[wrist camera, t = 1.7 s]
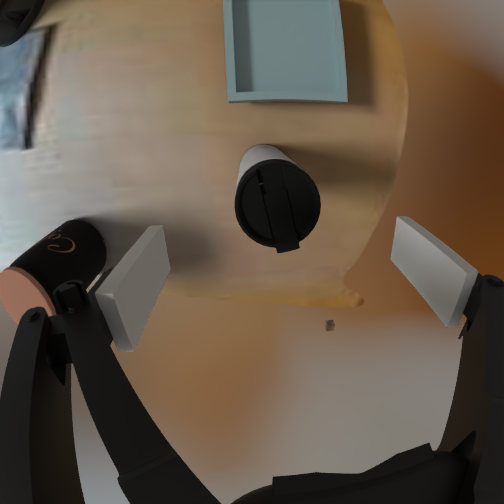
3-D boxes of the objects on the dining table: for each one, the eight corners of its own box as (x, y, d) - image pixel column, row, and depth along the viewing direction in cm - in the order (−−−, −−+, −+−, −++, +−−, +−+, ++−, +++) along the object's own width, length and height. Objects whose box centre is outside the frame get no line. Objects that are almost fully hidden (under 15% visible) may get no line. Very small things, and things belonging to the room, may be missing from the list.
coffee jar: (103, 216, 40) (37, 272, 23) (114, 274, 44) (66, 345, 28) (55, 217, 39) (-12, 266, 23) (67, 271, 44) (15, 331, 28)
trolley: (225, -6, 25) (217, -50, 14) (324, -4, 25) (352, -42, 14) (230, 104, 33) (222, 94, 22) (334, 104, 33) (371, 98, 22)
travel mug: (247, 195, 39) (247, 262, 21) (235, 150, 36) (222, 176, 18) (291, 185, 38) (329, 243, 20) (280, 139, 35) (314, 155, 17)
